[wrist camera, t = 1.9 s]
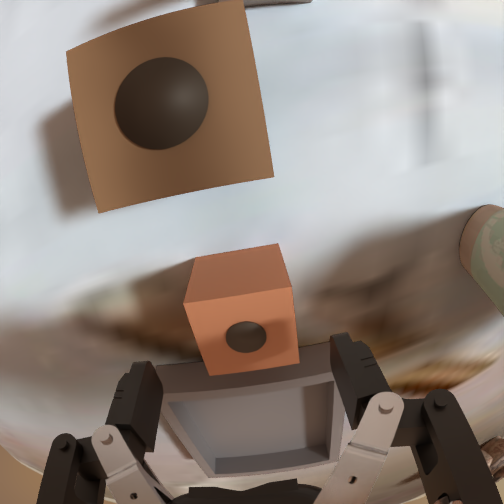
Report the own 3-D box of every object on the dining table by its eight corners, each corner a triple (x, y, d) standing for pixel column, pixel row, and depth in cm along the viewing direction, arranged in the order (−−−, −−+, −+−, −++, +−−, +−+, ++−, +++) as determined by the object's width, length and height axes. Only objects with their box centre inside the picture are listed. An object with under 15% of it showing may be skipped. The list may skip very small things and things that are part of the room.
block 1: (240, 43, 13) (242, -3, 7) (260, 155, 16) (274, 177, 10) (124, 71, 13) (64, 51, 7) (145, 178, 16) (97, 214, 10)
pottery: (467, 437, 35) (491, 484, 24) (514, 424, 40) (533, 458, 29) (427, 469, 40) (445, 514, 29) (483, 453, 44) (499, 486, 33)
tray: (337, 339, 21) (348, 367, 19) (332, 439, 28) (338, 461, 25) (156, 365, 22) (149, 394, 19) (209, 456, 28) (208, 477, 26)
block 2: (278, 242, 18) (292, 287, 13) (287, 310, 20) (300, 364, 16) (195, 256, 18) (183, 304, 14) (214, 322, 20) (209, 377, 16)
